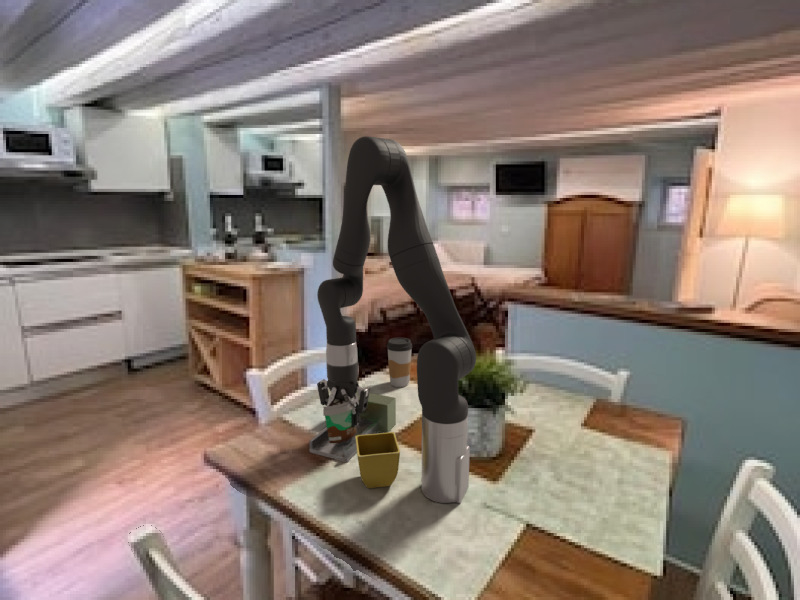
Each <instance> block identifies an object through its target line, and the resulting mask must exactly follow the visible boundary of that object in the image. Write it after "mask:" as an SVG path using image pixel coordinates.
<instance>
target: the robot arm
mask: <svg viewBox="0 0 800 600" xmlns="http://www.w3.org/2000/svg"><path fill="white" fill-rule="evenodd" d="M345 174H346V175H345V182H344V183H345V184H344V186H345V187H344V196H343V206H342V207H343V209H342V217H341V218H342V219H341V225H340V231H339V234H338V238H337V242H336V247H335V251H334V254H333V257H332V258H333V259H332V267H333V269H334V270H335V271H336V272H337V273H339V274H341V275H342V277H337V278H330V279H325V280H323V281H322V282H321V283H320V285H319V286H318V287H317V288H318V289H317V294H316V295H317V303H318V305H319V308H320V310H321V314H322V317H323V321H324V325H325V327H326V328H325V331H326V348H325V350H326V351H325V354H326V355H325V356H326V359H325V360H326V378H327V380H326V379H322V380H320V381H319V382H317V383H316V387H317V391H318V396H319V402H320V405H322V406H329V404H330V403H331V401H333V400H335V399H342V400H344V401H346V402H348V401H349V403H350V404H351V405H352V406H353V409H351V412H352V414H351V416H352V427H354V428H355V427H356V426H357V425H358V424H359V423H360V413H362V412H363V411H364V410H366V409H367V405H368V398H369V393H370V391H371V390H370V388H369V387H368V386H366V387H365V388H364V387H362V386H360V385H359V382H358V378H359V366H358V365H359V363H358V362H359V361H358V360H359V358H358V355H359V354H358V347H357V345H358V344H357V328H356V327H357V325H356V321H355V319H354V318H353V317H351V316H348V315H343V314H342V312H341V309H344V308H347V307H352V306H354V305H356V304H358V303H359V301H360V300H361V298H362V296H363V293H364V265H365V264H366V263H365V262H366V260H367V255H368V253H369V248H370V244H371V230H370V224H369V223H370V222H369V219H368V200H369V197H370V194H371V192H372V189H373V186H381V188H382V190H383V192H384V194H385V197H386V201H387V204H388V207H389V213H390V214H389V215H390V220H389V229H388V234H387V252H388V257H389V259H390V262H391V265H392V266H391V267H393V270H394V273H395V277H396V278H397V281H398V283H399V284H400V286H401V287H402V289H403V290H404V292H406V294H407V295H408V297H410V298H411V299H412V301H414V303H415V304H417V306H418V307H419V308H420V310H421V311H422V312H423V313H424V315H425V317H426V320H427V323H428V324H429V328H430V329H431V332H432V336H433V339H431V340H429V341H427V342H425V343H423V344H422V345H421V347H420V348H419V351H418V353H417V358H416V379H417V382H416V383H417V395H418V396H417V397H418V400H419V404H420V406H421V481H420V482H421V492H422V494H423V495H424V496H425V497H426V498H427V499H429V500H431V501H432V502H436V503H441V504H450V503H451V504H452V503H458V504H461V503H462V500H463V499H464V498H465V494H466V493H467V490H468V489H469V486H470V485H469V483H470V482H469V481H470V480H469V479H470V456H471V455H470V453H471V452H470V451H471V450H470V449H471V447H470V445H468V422H469V419H468V417H469V404H468V401H467V400H466V398H465V397H464V396H463V395H460V394H459V380H462V378H464V377H466V376H467V375H469V374H471V372H472V371H473V370H474V368H475V366H476V364H477V363H476V362H477V361H476V360H477V354H476V349H475V346H474V343H473V341H472V339H471V337H470V334H469V332H468V330H467V328H466V326H465V324H464V322H463V320H462V318H461V315H460V314H459V311H458V309H457V307H456V304H455V302H454V298H453V296H452V293H451V291H450V288H449V287H450V286H449V285H448V282H447V279H446V277H445V275H444V271H443V269H442V265H441V262H440V261H441V260H440V259H439V256H438V253H437V250H436V248H435V244H434V242H433V240H432V239H433V238H432V237H431V235H430V232H429V229H428V226H427V223H426V220H425V217H424V213H423V211H422V208H421V205H420V202H419V198H418V195H417V192H416V187H415V182H414V178H413V175H412V170H411V166H410V162H409V159H408V156H407V153H406V151H405V148H404V147H403V146H402V145H401V143H399V142H398V141H396V140H394V139H392V138H391V139H390V138H385V137H376V136H370V135H369V136H368V135H367V136H361V137H359V138H357V139H356V140H355V141H354V142H353V144H352V146H351V147H350V150H349V152H348V158H347V164H346V172H345ZM329 391H330V392H329ZM356 392H358V393H359V395H358V396H359V397H360V399H359V402H358V397H357V394H356ZM354 396H355V399H354V400H353V401H351V398H353V397H354ZM354 403H356V404H357V405H356V406H354Z"/></svg>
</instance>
